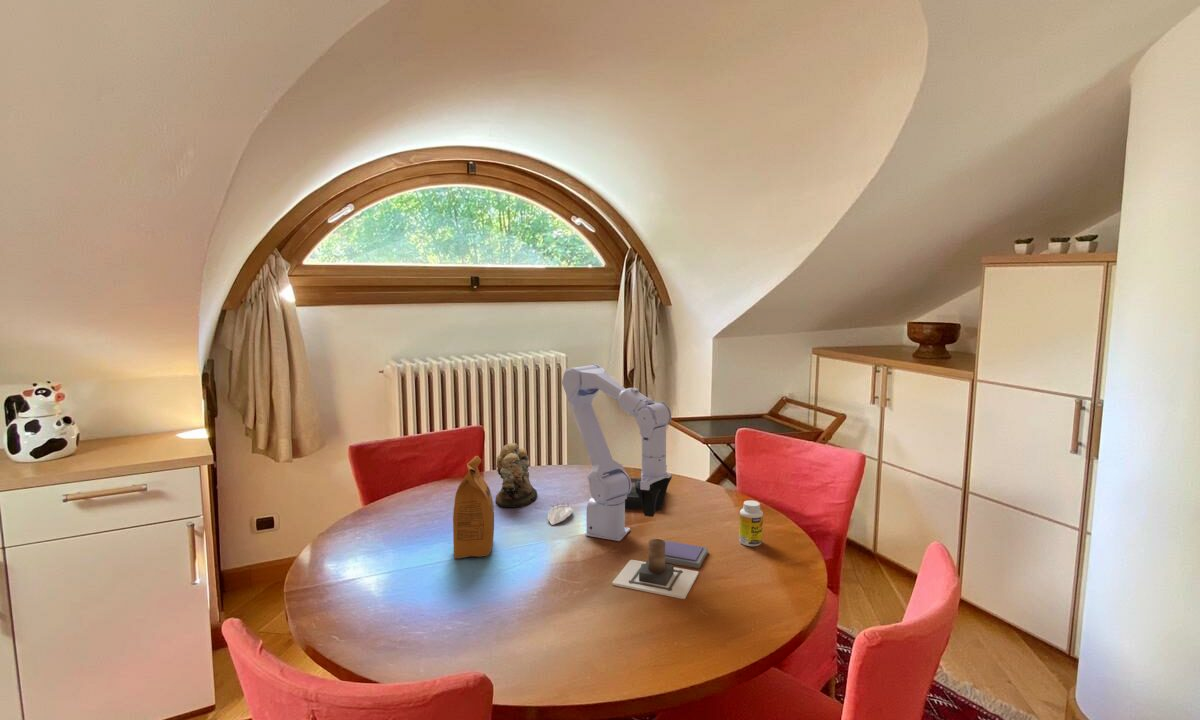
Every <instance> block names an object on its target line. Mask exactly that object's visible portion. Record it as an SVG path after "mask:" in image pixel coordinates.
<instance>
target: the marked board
mask: <svg viewBox="0 0 1200 720" xmlns="http://www.w3.org/2000/svg"><path fill="white" fill-rule="evenodd" d="M646 562H647V561H641V560H636V559H630V560H628V562H627V563H626V564H625V566H624V567H623V568H622V569H621V570H620V572H619V573H618V575H617V576H615V578H614V579H613V581H612V582H611V585H612V586H615V587H616V586H617V587H621V588H627V589H632V590H637V591H642V592H646V593H651V594H656V595H661V596H666V597H670V598H676V599H681V600H686V597H687V596H688V594H689V593H690V590H691V588H692V587H693V585H694V584H695V581H696V579H697V578H698V576H699V571H697V570H691V569H686V568H681V567H676V566H675V567H674V574H673V575H672V577H671V579H670V580H669V582H668V584H667V585H666V586H663V585H657V584H652V583H647V582H641V581H639V572H640V570H641V569H642V568H643V566H644V565H645V564H646Z"/></svg>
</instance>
